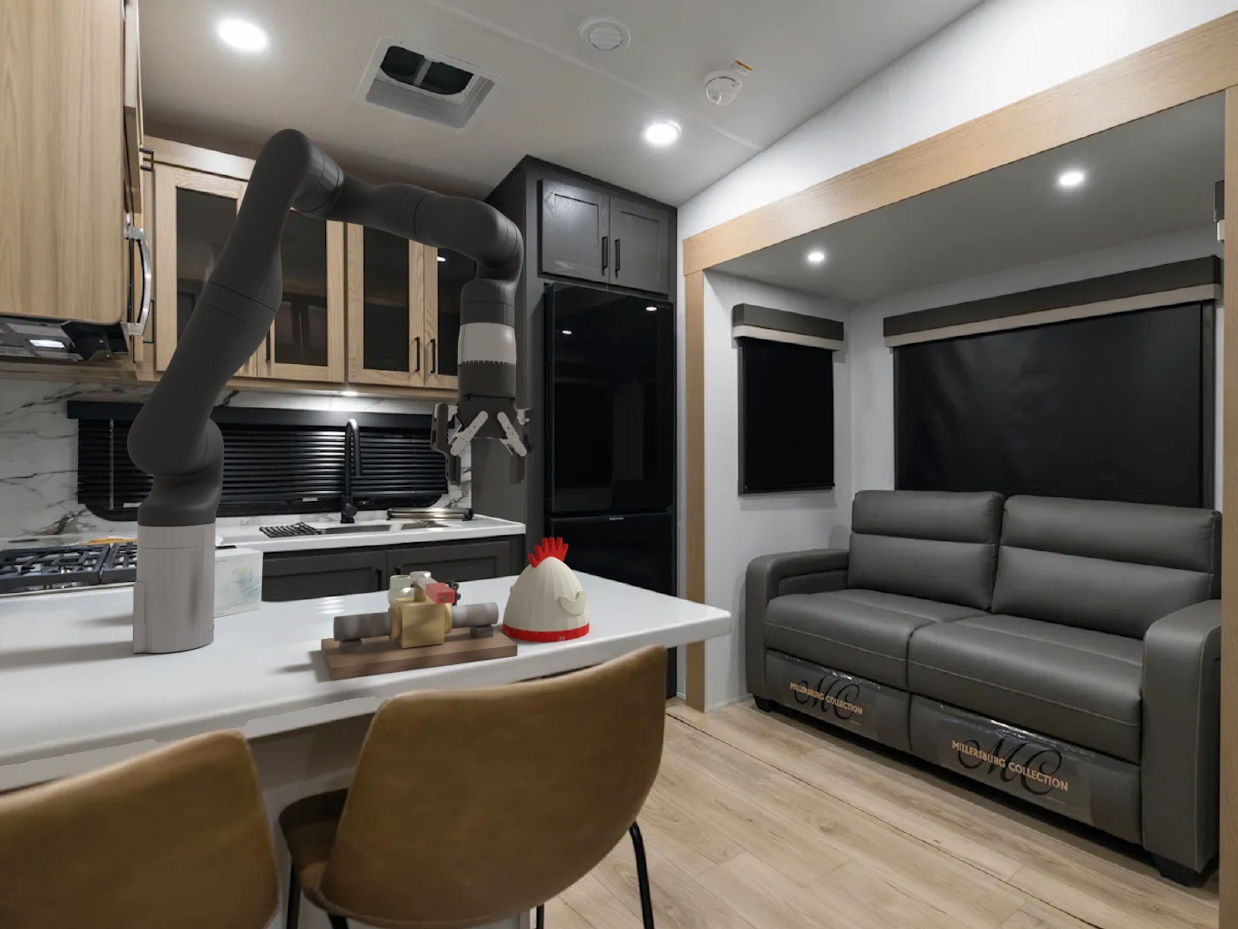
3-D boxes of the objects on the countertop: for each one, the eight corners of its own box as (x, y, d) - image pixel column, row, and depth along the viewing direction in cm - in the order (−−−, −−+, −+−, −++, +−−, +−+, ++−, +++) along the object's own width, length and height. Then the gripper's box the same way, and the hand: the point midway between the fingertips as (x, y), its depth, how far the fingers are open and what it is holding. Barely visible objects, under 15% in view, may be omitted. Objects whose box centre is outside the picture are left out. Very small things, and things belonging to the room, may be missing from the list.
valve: (377, 618, 111) (442, 623, 108) (378, 579, 111) (443, 584, 108) (399, 609, 118) (460, 614, 115) (400, 572, 118) (461, 577, 115)
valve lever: (408, 582, 92) (408, 572, 92) (428, 580, 94) (428, 570, 94) (434, 604, 79) (434, 593, 79) (457, 602, 80) (457, 591, 80)
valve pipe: (331, 680, 80) (332, 602, 80) (321, 649, 92) (322, 582, 92) (517, 655, 92) (518, 587, 92) (486, 631, 104) (487, 571, 104)
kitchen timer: (606, 630, 107) (608, 538, 106) (545, 648, 96) (548, 545, 96) (546, 615, 115) (548, 530, 115) (484, 630, 105) (486, 536, 105)
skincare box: (199, 621, 106) (200, 557, 106) (179, 615, 109) (180, 553, 109) (263, 609, 115) (264, 550, 115) (242, 604, 118) (243, 546, 118)
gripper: (523, 369, 94) (521, 483, 94) (424, 360, 86) (423, 484, 86) (548, 364, 88) (547, 485, 88) (444, 353, 79) (443, 486, 80)
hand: (485, 484), depth 87 cm, fingers open, 8 cm apart
